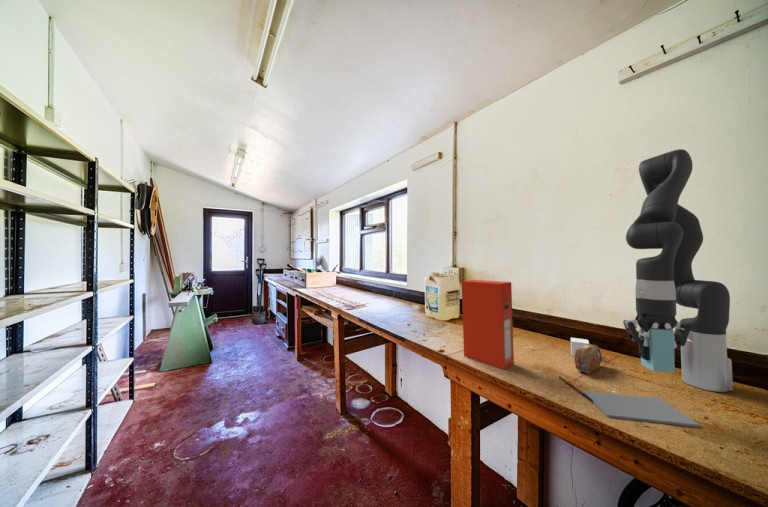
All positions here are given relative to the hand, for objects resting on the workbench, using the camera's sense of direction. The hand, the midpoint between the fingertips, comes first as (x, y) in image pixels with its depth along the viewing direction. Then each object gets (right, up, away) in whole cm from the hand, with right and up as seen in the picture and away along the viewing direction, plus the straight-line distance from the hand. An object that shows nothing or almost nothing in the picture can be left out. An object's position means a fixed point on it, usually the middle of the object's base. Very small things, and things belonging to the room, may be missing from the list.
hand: (656, 359), depth 69 cm
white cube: (+9, -14, +39) cm, 42 cm away
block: (0, -2, 0) cm, 2 cm away
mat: (-5, -14, +1) cm, 15 cm away
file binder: (-31, -15, +35) cm, 49 cm away
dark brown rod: (-14, -15, +11) cm, 23 cm away
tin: (+2, -14, +25) cm, 29 cm away
